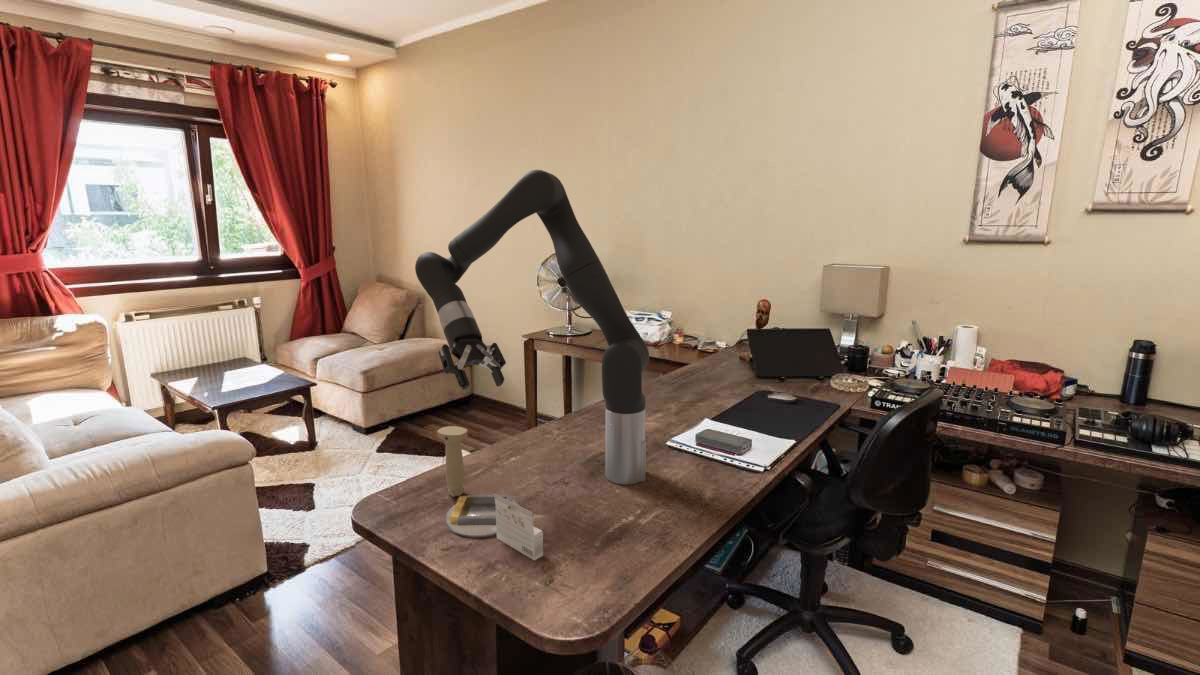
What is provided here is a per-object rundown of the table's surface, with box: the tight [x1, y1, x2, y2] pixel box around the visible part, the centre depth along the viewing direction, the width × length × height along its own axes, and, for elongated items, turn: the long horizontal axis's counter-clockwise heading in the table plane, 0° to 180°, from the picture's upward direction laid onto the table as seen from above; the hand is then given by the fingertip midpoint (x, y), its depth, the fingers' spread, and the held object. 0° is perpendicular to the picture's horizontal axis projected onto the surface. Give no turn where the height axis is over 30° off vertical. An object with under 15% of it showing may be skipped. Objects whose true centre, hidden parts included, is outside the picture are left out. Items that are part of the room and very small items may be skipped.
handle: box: [436, 425, 468, 498], centre depth 127 cm, size 5×6×15 cm
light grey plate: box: [445, 494, 520, 538], centre depth 119 cm, size 15×15×2 cm
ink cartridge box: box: [493, 493, 544, 561], centre depth 107 cm, size 2×11×10 cm, turn 48°
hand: (484, 386), depth 124 cm, fingers open, 8 cm apart
